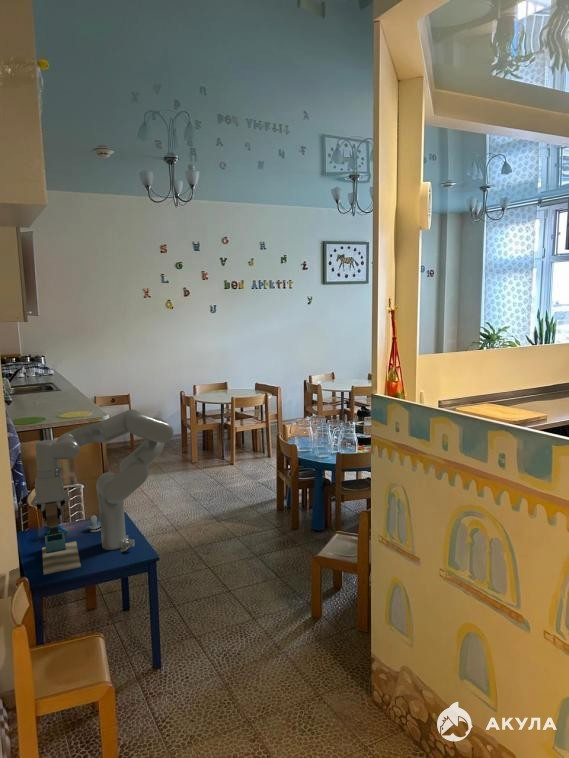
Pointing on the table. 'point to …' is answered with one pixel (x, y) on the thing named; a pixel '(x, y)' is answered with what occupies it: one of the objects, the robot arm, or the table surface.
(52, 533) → the cup bracket
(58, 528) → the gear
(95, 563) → the table surface
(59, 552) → the base board
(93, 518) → the pacifier
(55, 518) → the rail end
